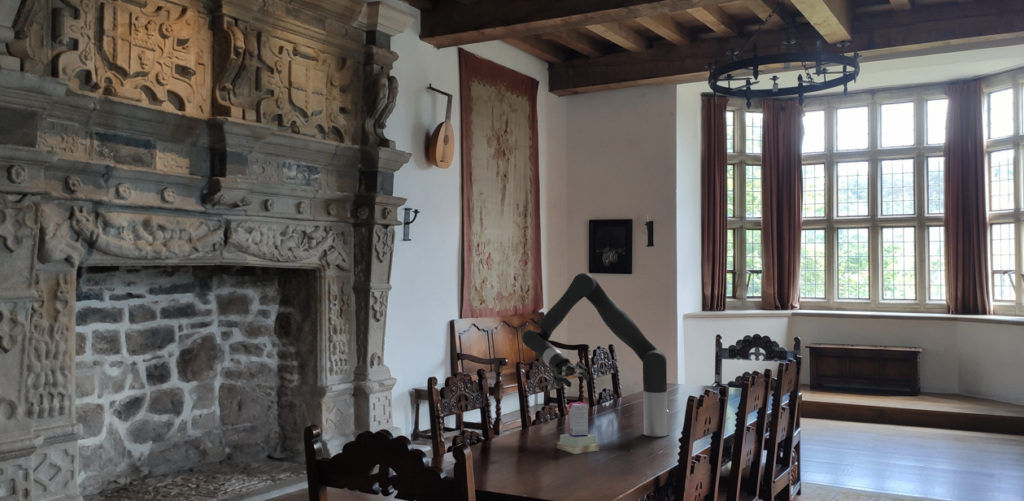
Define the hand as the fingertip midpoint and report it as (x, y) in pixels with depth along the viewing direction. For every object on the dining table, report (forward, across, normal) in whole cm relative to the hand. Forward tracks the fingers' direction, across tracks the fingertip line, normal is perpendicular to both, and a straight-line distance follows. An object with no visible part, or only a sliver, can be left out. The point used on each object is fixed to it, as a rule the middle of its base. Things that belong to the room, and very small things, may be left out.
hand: (579, 382), depth 295 cm
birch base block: (+19, -13, +14) cm, 27 cm away
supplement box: (+17, -12, +9) cm, 23 cm away
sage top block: (+18, -12, +11) cm, 25 cm away
